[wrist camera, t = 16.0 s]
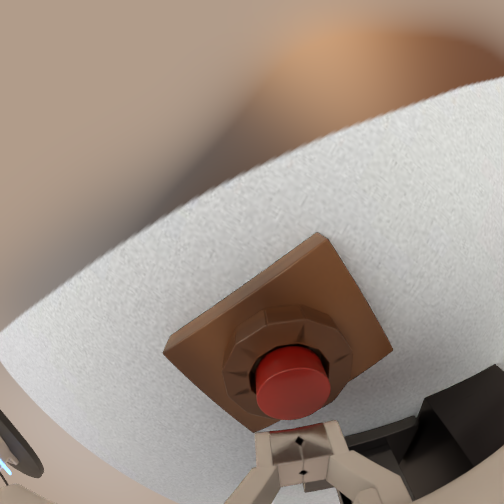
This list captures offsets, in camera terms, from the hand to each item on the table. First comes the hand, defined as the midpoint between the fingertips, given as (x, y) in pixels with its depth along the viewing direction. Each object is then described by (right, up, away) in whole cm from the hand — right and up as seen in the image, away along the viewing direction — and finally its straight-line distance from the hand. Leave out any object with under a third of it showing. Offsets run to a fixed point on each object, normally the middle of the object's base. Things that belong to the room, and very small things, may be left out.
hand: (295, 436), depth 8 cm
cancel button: (0, +1, +4) cm, 4 cm away
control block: (0, +2, +7) cm, 7 cm away
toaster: (+18, -11, +10) cm, 24 cm away
